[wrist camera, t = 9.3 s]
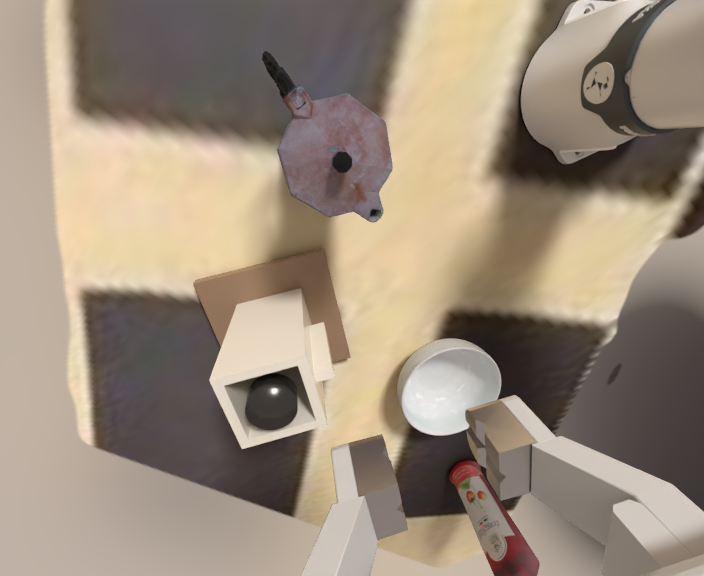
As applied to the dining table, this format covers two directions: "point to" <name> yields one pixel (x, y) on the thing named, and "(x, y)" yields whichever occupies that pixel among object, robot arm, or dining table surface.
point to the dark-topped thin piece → (271, 401)
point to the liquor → (493, 523)
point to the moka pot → (332, 150)
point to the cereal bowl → (446, 385)
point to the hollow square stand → (274, 337)
